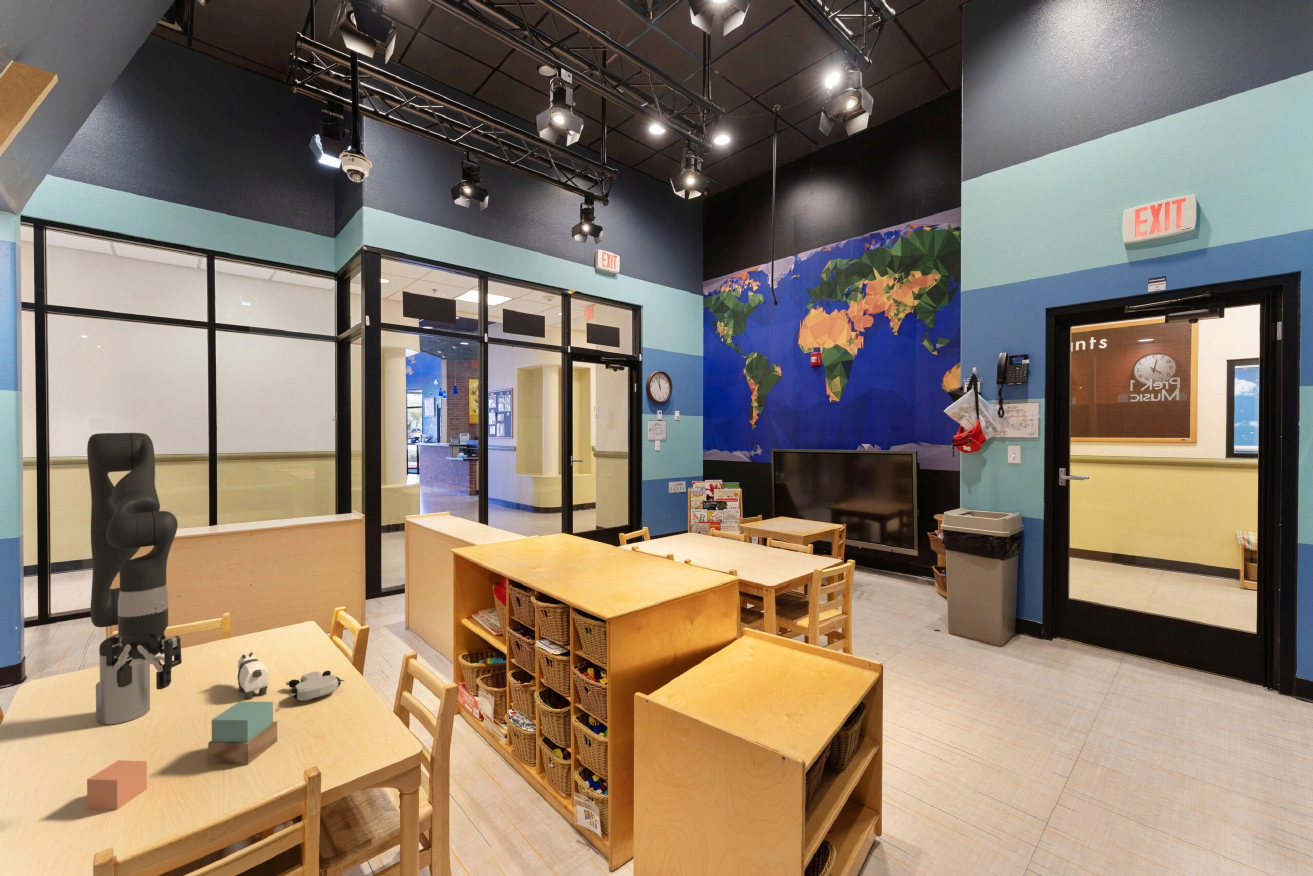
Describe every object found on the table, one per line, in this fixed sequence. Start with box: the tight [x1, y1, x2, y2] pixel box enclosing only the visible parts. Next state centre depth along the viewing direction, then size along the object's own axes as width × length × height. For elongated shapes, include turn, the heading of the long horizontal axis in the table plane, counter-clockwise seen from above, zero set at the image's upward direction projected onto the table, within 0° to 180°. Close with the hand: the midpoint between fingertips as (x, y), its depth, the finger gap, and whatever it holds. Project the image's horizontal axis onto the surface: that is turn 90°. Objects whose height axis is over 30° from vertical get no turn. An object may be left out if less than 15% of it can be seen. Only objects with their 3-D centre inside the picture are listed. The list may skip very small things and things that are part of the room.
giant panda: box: [237, 652, 270, 701], centre depth 153 cm, size 15×6×10 cm, turn 50°
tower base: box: [207, 720, 278, 766], centre depth 124 cm, size 9×9×5 cm
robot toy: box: [285, 670, 345, 702], centre depth 152 cm, size 12×4×15 cm
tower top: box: [211, 700, 274, 742], centre depth 124 cm, size 8×8×5 cm
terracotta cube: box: [86, 759, 148, 811], centre depth 108 cm, size 6×6×6 cm
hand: (144, 686), depth 111 cm, fingers open, 8 cm apart
